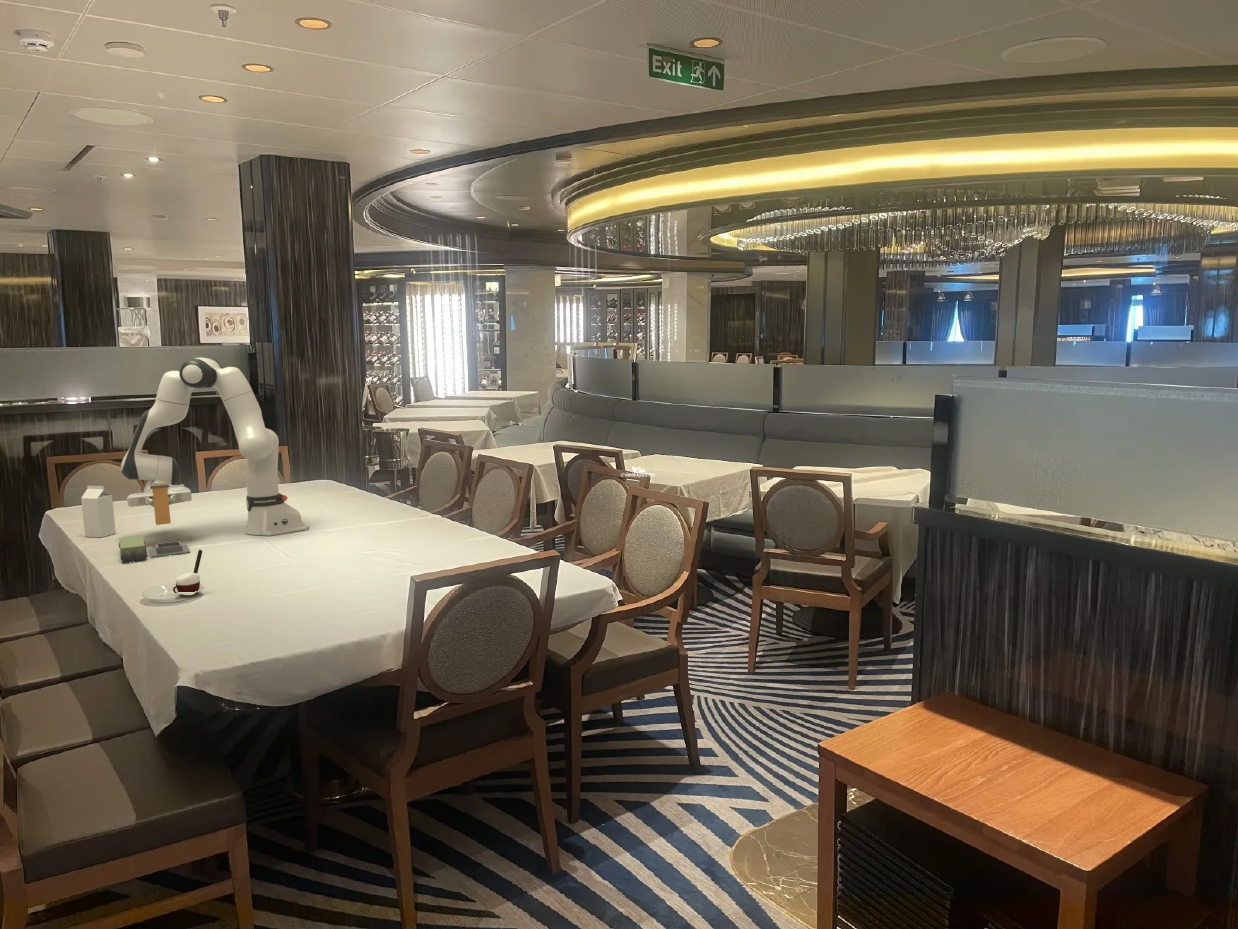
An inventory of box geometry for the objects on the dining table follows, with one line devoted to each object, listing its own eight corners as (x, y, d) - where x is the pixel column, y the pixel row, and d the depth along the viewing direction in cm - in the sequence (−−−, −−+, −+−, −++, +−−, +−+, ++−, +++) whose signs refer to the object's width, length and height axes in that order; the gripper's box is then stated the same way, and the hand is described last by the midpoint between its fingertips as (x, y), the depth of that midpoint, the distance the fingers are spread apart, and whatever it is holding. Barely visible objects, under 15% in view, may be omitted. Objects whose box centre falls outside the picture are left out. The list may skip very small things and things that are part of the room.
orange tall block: (171, 520, 308) (167, 482, 306) (172, 523, 303) (169, 484, 301) (153, 522, 305) (149, 483, 303) (154, 525, 300) (150, 486, 298)
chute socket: (186, 546, 307) (186, 538, 307) (190, 553, 297) (189, 545, 296) (148, 550, 301) (148, 543, 300) (150, 558, 291) (150, 550, 290)
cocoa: (175, 601, 245) (169, 560, 242) (170, 595, 250) (165, 555, 247) (211, 593, 250) (206, 553, 248) (206, 587, 255) (201, 548, 253)
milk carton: (101, 538, 321) (96, 487, 318) (85, 537, 322) (79, 487, 319) (116, 533, 328) (111, 484, 325) (99, 533, 329) (94, 484, 326)
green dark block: (144, 548, 305) (143, 534, 304) (148, 560, 287) (146, 546, 287) (119, 551, 301) (117, 537, 300) (121, 564, 283) (119, 549, 283)
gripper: (125, 489, 308) (126, 495, 296) (188, 483, 319) (192, 489, 307) (126, 506, 309) (128, 513, 297) (190, 500, 320) (193, 506, 308)
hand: (161, 501), depth 302 cm, fingers closed on orange tall block, 4 cm apart
